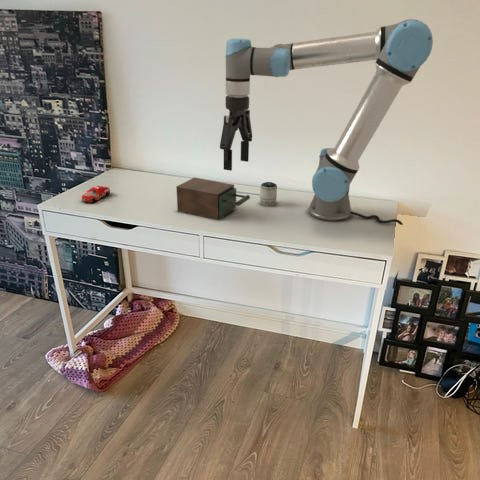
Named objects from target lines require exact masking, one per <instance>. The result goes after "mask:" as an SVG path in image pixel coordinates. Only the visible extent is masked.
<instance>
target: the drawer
mask: <svg viewBox="0 0 480 480" xmlns="http://www.w3.org/2000/svg"><path fill="white" fill-rule="evenodd" d="M237 198H240V199H239V200H237ZM250 199H251V196H250V195H249V194H246V195H242V194H237V188H236V187H234V188H232V189H231V190H228V191H227V192H225V193H223V194H222V195H220V196H219V217H221V218H220V219H222V218H223V217H225V216H226V215H228V214H229V213H231V212H232V211H234V210H235V209H237V206H238V207H240V206H241V205H242V204H244V203H246V202H247V201H249V200H250Z"/></svg>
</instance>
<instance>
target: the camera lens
mask: <svg viewBox="0 0 480 480" xmlns="http://www.w3.org/2000/svg"><path fill="white" fill-rule="evenodd" d="M259 187H260V188H259V190H260V194H259V201H260V205H261V206H263V207H274V206H275V205H276V203H277V197H278V195H277V193H278V185H277V184H276V183H274V182H272V181H266V182H265V181H264V182H263V183H261V184H260V186H259Z"/></svg>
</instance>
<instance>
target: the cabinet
mask: <svg viewBox="0 0 480 480" xmlns="http://www.w3.org/2000/svg"><path fill="white" fill-rule="evenodd" d="M232 188H235V184H232V183H227V182H221V181H216V180H210V179H206V178H199V177H192V178H190V179H189V180H187V181H184V182H182V183H181V184H178V185H176V205H177V212H178V213H183V214H188V215H193V216H197V217H202V218H205V219H211V220H216V221H219V220H220V219H222V218H221V217H219V196H220V195H222V194H223V193H225V192H227V191H228V190H231V189H232Z"/></svg>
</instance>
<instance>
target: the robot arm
mask: <svg viewBox="0 0 480 480" xmlns="http://www.w3.org/2000/svg"><path fill="white" fill-rule="evenodd" d="M433 42H434V40H433V33H432V31H431V29H430V28H429V26H428V25H427V24H426V23H424V22H423V21H422V20H418V19H412V18H410V19H405V20H402V21H400V22H398V23H397V22H396V23H393V24H390V25H385V26H379V28H377V30H376V31H370V32H362V33H355V34H349V35H348V34H347V35H340V36H335V37H334V36H333V37H325V38H319V39H311V40H304V41H297V42H292V43H277V44H274V45H273V46H271V47H255V46H252V41H251V39H249V38H229V39H227V40H226V44H225V56H224V58H225V83H224V86H225V94H226V96H225V109H226V110H228V115H224V116H223V125H222V130H221V137H220V143H219V150H223V170H224V171H229V172H230V171H231V172H232V171H233V149H232V145H233V143H234V139H235V135H236V133H237V131H239V134H240V137H241V139H242V140H241V141H240V162H247V163H248V162H249V156H250V155H249V154H250V153H249V152H250V142H252V141H253V130H252V124H251V117H250V116H251V110H250V96H249V95H250V92H251V91H250V90H251V76H259V77H260V76H261V77H274V78H287V76H288V75H289V74H290V71H295V70H301V69H302V70H303V69H311V68H320V67H329V66H337V65H344V64H345V65H346V64H354V63H362V62H370V61H375V62H374V65H375V73H374V75H373V77H372V79H371V81H370V82H369V84H368V85H367V88H366V90H365V91H364V93H363V95H362V97H361V99H360V100H359V103H358V104H357V106H356V108H355V110H353V113H352V115H351V117H350V119H349V121H348V122H347V124H346V126H345V128H344V129H343V131H342V133H341V135H340V137H339V139H338V141H336V142H337V143H336V144H335V146H334V147H325V148H322V149H321V150H320V153H319V157H318V158H319V161H318V162H319V163H318V167H317V168H316V170H315V173H314V174H313V176H312V180H311V186H312V191H313V192H314V195H313V197H312V199H311V202H310V204H309V207H308V213H309V215H310V216H312V217H313V218H316V219H318V220H322V221H328V222H329V221H330V222H340V221H344V220H347V219H349V218H350V217H351V216H352V215H353V216H356V217H360V218H361V219H362V218H363V219H366V220H369V219H376V221H377V222H378V223H380V224H390V223H397V224H398V225H401V226H403V225H404V223H403V222H402V221H401V220H400V219H394V218H392V219H387V220H382V219H380V216H378V215H375V214H372V215H364V214H361V213H358V212H355V211H352V207H351V201H350V188H351V187H350V186H351V184H352V181H353V180H354V178H355V176H356V175H357V173H358V171H359V170H360V164H359V163H360V162H359V160H360V158H361V157H362V155H363V154H364V152H365V150H366V148H367V147H368V146H369V143H370V142H371V140H372V139H373V137H374V135H375V133H376V132H377V130H378V128H379V127H380V125H381V123H382V121H383V120H384V118H385V116H386V115H387V113H388V111H389V109H390V108H391V106H392V105H393V103H394V101H395V99H396V98H397V96H398V95H399V93H400V91H401V90H402V87H403V86H406V85H408V84H411V83H412V81H413V79H414V78H415V76H416V75H417V73H418V71H419V70H420V68H421V66H422V65H424V64H425V62H427V60H428V58H429V57H430V55H431V54H432V51H433V50H432V49H433ZM399 271H400V270H398V271H397V273H396V274H395V277H394V278H393V283H392V289H393V290H394V289H396V284H397V280H398V275H399Z"/></svg>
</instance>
